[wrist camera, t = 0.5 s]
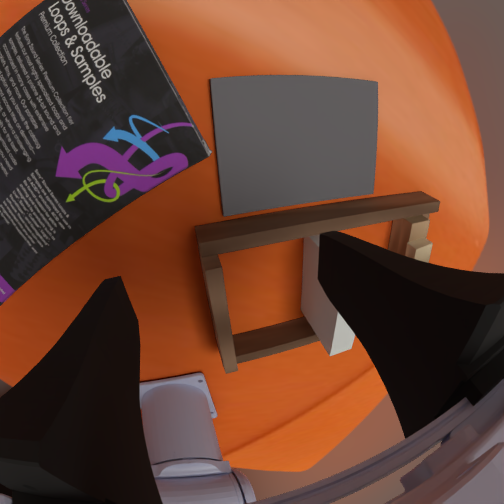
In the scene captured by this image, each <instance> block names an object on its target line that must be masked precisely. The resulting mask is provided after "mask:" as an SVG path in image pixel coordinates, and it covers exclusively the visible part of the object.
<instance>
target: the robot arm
mask: <svg viewBox="0 0 504 504" xmlns="http://www.w3.org/2000/svg"><path fill="white" fill-rule="evenodd" d="M317 279H318V281H319V283H320V285H321V287H322V288H323V290H324V292H325V294H326V296H327V297H328V299H329V300H330V302H331V303H332V305H333V306H334V307H335V309H336V310H337V311H338V313H339V314H340V315H341V316H342V318H343V319H344V320H345V322H346V323H347V324H348V326H349V327H350V328H351V330H352V331H353V332H354V334H355V335H356V336H357V338H358V339H359V340H360V342H361V343H362V345H363V346H364V348H365V349H366V351H367V353H368V355H369V356H370V358H371V360H372V362H373V364H374V365H375V367H376V369H377V371H378V373H379V375H380V377H381V379H382V381H383V383H384V385H385V387H386V389H387V392H388V394H389V396H390V398H391V401H392V403H393V405H394V407H395V410H396V413H397V415H398V418H399V421H400V424H401V426H402V430H403V433H404V436H405V438H406V439H404V440H403V441H401V442H400V443H398V444H396V445H395V446H392V447H391V448H389V449H387V450H385V451H383V452H382V453H380V454H378V455H376V456H374V457H372V458H370V459H368V460H366V461H364V462H362V463H360V464H358V465H356V466H354V467H351V468H349V469H347V470H345V471H342V472H340V473H338V474H335V475H333V476H331V477H328V478H326V479H323V480H321V481H318V482H315V483H313V484H310V485H307V486H305V487H302V488H299V489H296V490H293V491H290V492H287V493H283V494H280V495H277V496H273V497H270V498H266V499H263V500H259V501H256V498H255V495H254V491H253V489H252V486H251V483H250V482H249V480H248V478H247V477H246V476H245V474H243V473H242V472H240V471H239V470H238V469H236V468H234V469H231V467H230V464H229V461H223V458H222V455H221V451H220V447H219V444H218V440H217V436H216V432H215V428H214V425H213V421H212V418H216V417H217V412H216V410H215V407H214V404H213V401H212V398H211V395H210V392H209V389H208V386H207V383H206V380H205V377H204V374H202V373H194V374H189V375H184V376H179V377H173V378H168V379H162V380H156V381H150V382H143V383H140V335H139V325H138V319H137V317H136V314H135V312H134V309H133V307H132V304H131V302H130V299H129V297H128V294H127V292H126V289H125V287H124V284H123V281H122V279H121V276H118V277H113V278H109V279H105V280H104V281H103V282H102V283H101V284H100V285H99V287H98V288H97V289H96V291H95V292H94V293H93V295H92V296H91V298H90V299H89V300H88V302H87V303H86V304H85V306H84V307H83V309H82V310H81V311H80V313H79V314H78V316H77V317H76V318H75V320H74V321H73V322H72V323H71V325H70V326H69V327H68V329H67V330H66V331H65V333H64V334H63V335H62V337H61V338H60V339H59V340H58V341H57V343H56V344H55V345H54V346H53V347H52V349H51V350H50V351H49V352H48V353H47V354H46V355H45V356H44V358H43V359H42V360H41V361H40V362H39V363H38V364H37V365H36V366H35V367H34V368H33V369H32V370H31V371H30V372H29V373H28V374H27V375H26V376H25V377H24V378H23V379H22V380H20V381H19V382H18V383H17V384H16V385H15V386H14V387H13V388H11V389H10V390H9V391H8V392H7V393H6V394H4V395H3V396H2V397H1V398H0V483H1V484H3V485H5V486H6V487H8V488H10V489H11V490H12V498H11V497H9V496H6V495H4V494H1V493H0V504H330V503H332V502H335V501H337V500H339V499H341V498H344V497H346V496H348V495H350V494H353V493H355V492H357V491H359V490H361V489H363V488H365V487H367V486H369V485H371V484H373V483H375V482H377V481H379V480H381V479H382V478H384V477H386V476H388V475H390V474H391V473H393V472H395V471H396V470H398V469H400V468H402V467H403V466H405V465H407V464H408V463H410V462H411V461H413V460H415V459H416V458H418V457H419V456H421V455H422V454H424V453H425V452H427V451H428V450H430V449H431V448H432V447H434V446H435V445H437V444H438V443H439V442H441V441H442V442H441V447H439V448H438V449H437V450H436V451H434V452H433V453H432V454H430V455H429V456H428V457H426V458H425V459H424V460H423V461H422V462H421V463H420V464H419V465H417V466H416V467H415V468H414V469H412V470H411V471H410V472H408V473H407V474H406V475H404V476H403V477H401V479H400V482H401V483H402V485H403V487H404V488H405V492H404V493H402V494H400V495H399V496H397V497H395V498H393V499H392V500H390V501H388V502H386V503H384V504H504V274H501V273H482V272H473V271H465V270H459V269H454V268H448V267H443V266H439V265H435V264H431V263H427V262H423V261H420V260H416V259H413V258H410V257H407V256H404V255H401V254H398V253H395V252H392V251H390V250H387V249H384V248H382V247H379V246H377V245H374V244H371V243H369V242H366V241H364V240H361V239H358V238H356V237H353V236H350V235H348V234H345V233H341V232H338V231H329V232H325V233H320V236H319V259H318V277H317ZM140 408H141V409H142V417H141V410H140ZM142 419H143V424H142Z"/></svg>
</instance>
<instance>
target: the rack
mask: <svg viewBox="0 0 504 504" xmlns="http://www.w3.org/2000/svg"><path fill="white" fill-rule="evenodd" d="M439 204H440V201H439V200H437V199H435V198H433V197H431V196H429V195H428V194H426V193H424V192H422V191H420V192H412V193H404V194H396V195H388V196H380V197H373V198H365V199H358V200H351V201H344V202H337V203H330V204H323V205H317V206H310V207H304V208H298V209H291V210H285V211H279V212H273V213H267V214H261V215H255V216H249V217H244V218H238V219H232V220H227V221H221V222H216V223H211V224H205V225H200V226H195V231H196V237H197V243H198V249H199V254H200V260H201V266H202V271H203V276H204V282H205V287H206V292H207V297H208V302H209V307H210V312H211V317H212V322H213V326H214V331H215V336H216V340H217V345H218V349H219V353H220V356H221V360H222V363H223V367H224V369H225V372H226V374H227V373H231V372H235V371H238V367H237V364H238V363H242V362H246V361H250V360H254V359H258V358H262V357H266V356H269V355H273V354H276V353H280V352H284V351H287V350H290V349H294V348H297V347H301V346H304V345H307V344H310V343H314V342H317V341H320V340H319V338H318V337H317V335H316V333H315V332H314V330H313V329H312V327H311V325H310V324H309V322H308V321H307V319H306V317H302V318H299V319H295V320H291V321H288V322H284V323H280V324H276V325H273V326H269V327H265V328H261V329H257V330H253V331H249V332H245V333H240V334H236V335H232V331H231V324H230V318H229V311H228V305H227V298H226V291H225V285H224V278H223V271H222V266H221V263H220V260H219V258H218V254H223V253H228V252H233V251H238V250H243V249H248V248H253V247H258V246H263V245H268V244H273V243H278V242H283V241H288V240H294V239H299V238H304V237H309V236H314V235H319V234H320V233H325V232H329V231H340V230H345V229H350V228H355V227H360V226H365V225H371V224H376V223H381V222H386V221H391V220H397V219H402V218H407V217H412V216H417V215H423V216H424V217H426V218H428V219H429V214H430V213H433V212H438V210H439Z"/></svg>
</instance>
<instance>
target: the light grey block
mask: <svg viewBox="0 0 504 504" xmlns="http://www.w3.org/2000/svg"><path fill="white" fill-rule="evenodd" d="M319 236H320V234H319V235H314V236H309V237H304V247H303V274H302V296H301V311H302V313H303V314H304V316H305V317H306V319H307V321H308V322H309V324H310V325H311V327H312V329H313V330H314V332H315V333H316V335H317V337H318V338H319V340H320V341H321V343H322V345H323V346H324V348H325V349H326V351H327V353H328V354H329V356H332V355H335V354H338V353H340V352H343V351H346V350H349V349H351V348H352V344H353V341H354V337H355V334H354V332H353V331H352V330H351V328H350V327H349V326H348V324H347V323H346V322H345V320H344V319H343V318H342V316H341V315H340V314H339V313H338V311H337V310H336V309H335V307H334V306H333V305H332V303H331V302H330V300H329V299H328V297H327V296H326V294H325V292H324V290H323V288H322V287H321V285H320V283H319V281H318V279H317V277H318V259H319Z"/></svg>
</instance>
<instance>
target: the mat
mask: <svg viewBox="0 0 504 504" xmlns="http://www.w3.org/2000/svg"><path fill="white" fill-rule="evenodd" d="M210 90H211V101H212V113H213V124H214V134H215V144H216V155H217V164H218V174H219V183H220V193H221V202H222V211H223V216H224V217H225V216H230V215H236V214H242V213H248V212H253V211H259V210H265V209H272V208H278V207H284V206H290V205H297V204H303V203H310V202H317V201H324V200H331V199H338V198H345V197H352V196H360V195H368V194H373V191H374V180H375V167H376V151H377V128H378V82H375V81H368V80H359V79H350V78H339V77H325V76H305V75H257V76H236V77H223V78H212V79H210Z"/></svg>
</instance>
